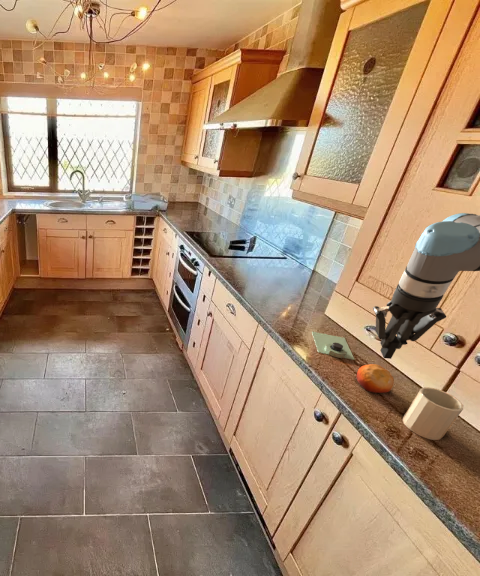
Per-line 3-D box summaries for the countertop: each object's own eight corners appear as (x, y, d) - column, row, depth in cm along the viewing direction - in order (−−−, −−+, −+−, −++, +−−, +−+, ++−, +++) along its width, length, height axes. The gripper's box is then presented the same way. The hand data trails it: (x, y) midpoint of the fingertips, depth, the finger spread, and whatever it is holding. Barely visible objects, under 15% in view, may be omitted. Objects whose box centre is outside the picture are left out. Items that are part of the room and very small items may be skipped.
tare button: (340, 348, 102) (342, 343, 101) (342, 352, 100) (344, 348, 99) (330, 345, 103) (331, 341, 102) (332, 350, 101) (333, 346, 100)
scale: (343, 340, 110) (346, 334, 108) (354, 364, 98) (357, 357, 97) (310, 334, 113) (313, 327, 112) (317, 356, 102) (320, 349, 101)
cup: (433, 421, 79) (453, 392, 74) (448, 444, 73) (470, 414, 69) (397, 412, 82) (414, 383, 77) (409, 433, 76) (428, 404, 71)
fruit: (370, 369, 94) (390, 361, 87) (382, 396, 90) (405, 389, 83) (343, 369, 94) (361, 361, 88) (354, 396, 90) (374, 389, 83)
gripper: (389, 299, 69) (359, 363, 83) (470, 300, 64) (423, 368, 78) (377, 278, 74) (351, 341, 88) (451, 278, 69) (411, 345, 83)
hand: (385, 354), depth 83 cm, fingers closed
